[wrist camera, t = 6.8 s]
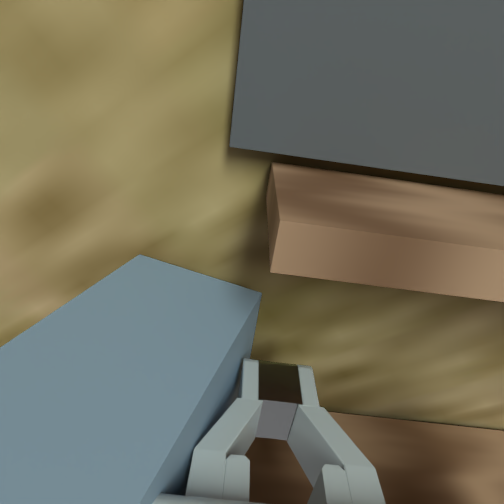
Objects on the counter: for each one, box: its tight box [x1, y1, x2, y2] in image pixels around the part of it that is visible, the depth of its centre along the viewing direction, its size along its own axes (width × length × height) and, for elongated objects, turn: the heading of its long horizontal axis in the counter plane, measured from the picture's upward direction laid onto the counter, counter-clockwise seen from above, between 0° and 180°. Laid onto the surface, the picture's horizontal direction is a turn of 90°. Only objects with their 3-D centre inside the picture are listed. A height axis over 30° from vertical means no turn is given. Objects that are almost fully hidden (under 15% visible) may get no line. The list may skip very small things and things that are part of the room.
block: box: [0, 254, 262, 504], centre depth 10 cm, size 5×5×8 cm
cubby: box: [244, 162, 504, 504], centre depth 12 cm, size 17×13×5 cm
